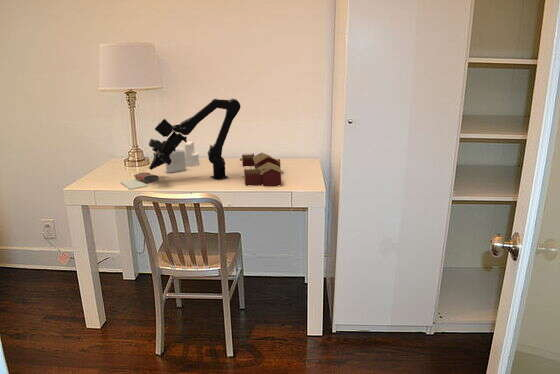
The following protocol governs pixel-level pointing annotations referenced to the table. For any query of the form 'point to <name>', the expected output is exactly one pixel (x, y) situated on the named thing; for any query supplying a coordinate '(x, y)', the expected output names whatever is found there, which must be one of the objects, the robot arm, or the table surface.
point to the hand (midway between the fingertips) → (150, 169)
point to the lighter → (146, 177)
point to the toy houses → (261, 170)
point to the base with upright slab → (191, 155)
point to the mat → (134, 184)
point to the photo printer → (177, 161)
